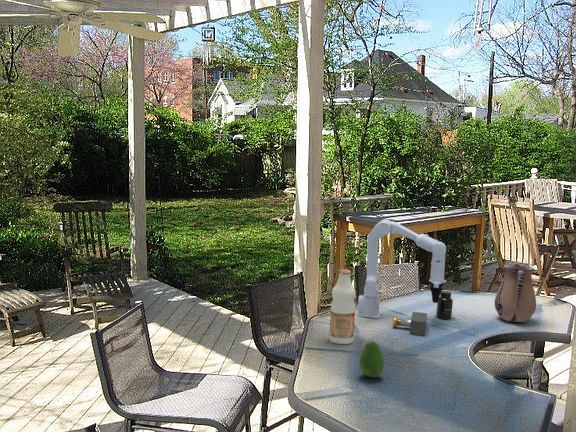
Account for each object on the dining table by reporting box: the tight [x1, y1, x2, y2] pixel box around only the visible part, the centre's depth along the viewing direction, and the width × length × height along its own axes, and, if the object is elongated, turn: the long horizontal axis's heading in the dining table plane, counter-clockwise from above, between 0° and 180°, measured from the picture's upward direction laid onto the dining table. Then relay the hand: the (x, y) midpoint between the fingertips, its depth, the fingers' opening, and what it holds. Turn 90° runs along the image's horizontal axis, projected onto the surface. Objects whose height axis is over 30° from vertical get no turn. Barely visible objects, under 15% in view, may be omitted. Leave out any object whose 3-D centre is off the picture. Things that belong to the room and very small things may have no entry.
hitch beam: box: [409, 311, 428, 337], centre depth 250 cm, size 6×14×6 cm, turn 165°
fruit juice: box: [328, 268, 356, 345], centre depth 231 cm, size 9×9×28 cm
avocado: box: [359, 340, 385, 379], centre depth 196 cm, size 8×8×12 cm
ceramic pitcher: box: [494, 263, 537, 323], centre depth 268 cm, size 18×21×25 cm
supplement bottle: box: [435, 290, 454, 321], centre depth 270 cm, size 7×7×12 cm
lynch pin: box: [392, 316, 411, 328], centre depth 251 cm, size 12×4×4 cm, turn 75°
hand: (435, 300), depth 261 cm, fingers open, 7 cm apart
